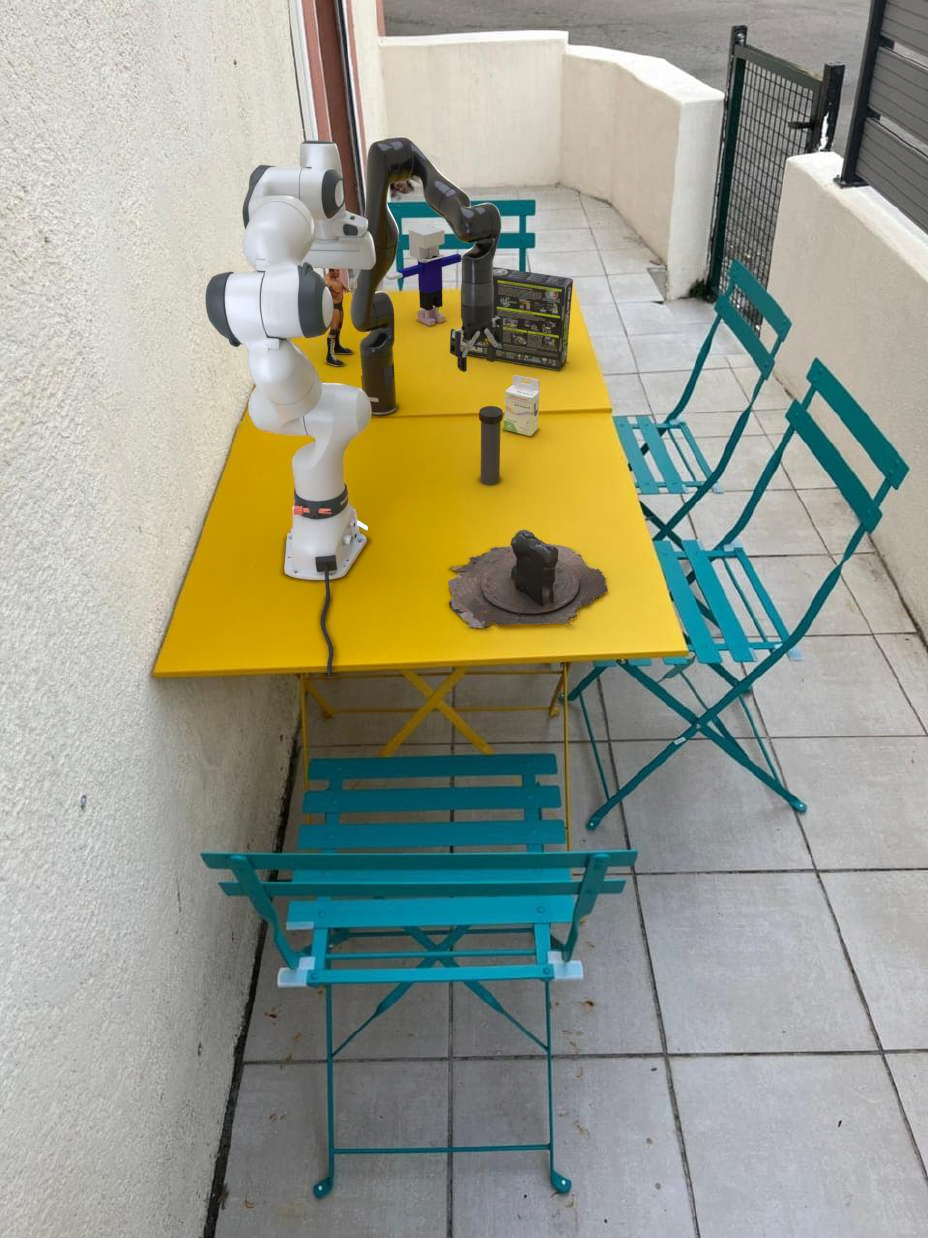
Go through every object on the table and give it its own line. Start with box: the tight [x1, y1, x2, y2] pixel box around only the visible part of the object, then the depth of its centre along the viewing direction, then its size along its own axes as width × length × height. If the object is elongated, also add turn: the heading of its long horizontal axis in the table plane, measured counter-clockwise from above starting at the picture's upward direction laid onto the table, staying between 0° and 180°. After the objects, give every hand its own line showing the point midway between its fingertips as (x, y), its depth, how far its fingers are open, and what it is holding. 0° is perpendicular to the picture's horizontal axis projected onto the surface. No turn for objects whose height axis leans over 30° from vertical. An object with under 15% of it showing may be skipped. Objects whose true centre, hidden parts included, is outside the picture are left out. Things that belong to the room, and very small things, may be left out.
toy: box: [384, 223, 465, 327], centre depth 298 cm, size 35×10×30 cm, turn 130°
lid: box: [478, 405, 504, 424], centre depth 215 cm, size 6×6×2 cm
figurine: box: [322, 269, 353, 367], centre depth 275 cm, size 24×6×30 cm, turn 168°
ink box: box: [503, 374, 541, 437], centre depth 242 cm, size 9×5×15 cm, turn 62°
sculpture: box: [447, 529, 609, 629], centre depth 188 cm, size 33×35×16 cm
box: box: [463, 266, 574, 371], centre depth 275 cm, size 34×7×27 cm, turn 68°
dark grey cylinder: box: [480, 421, 502, 486], centre depth 221 cm, size 5×5×19 cm
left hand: (332, 287), depth 199 cm, fingers open, 8 cm apart
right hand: (476, 365), depth 213 cm, fingers open, 8 cm apart
